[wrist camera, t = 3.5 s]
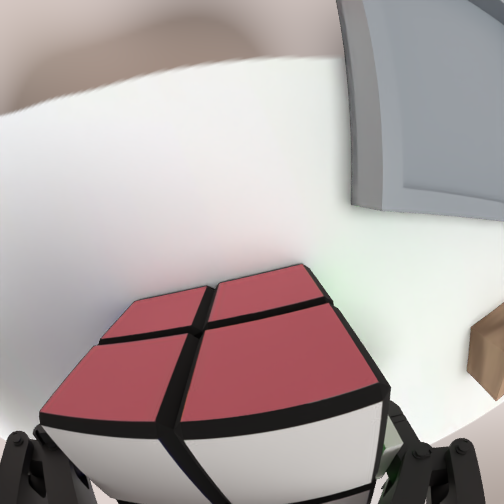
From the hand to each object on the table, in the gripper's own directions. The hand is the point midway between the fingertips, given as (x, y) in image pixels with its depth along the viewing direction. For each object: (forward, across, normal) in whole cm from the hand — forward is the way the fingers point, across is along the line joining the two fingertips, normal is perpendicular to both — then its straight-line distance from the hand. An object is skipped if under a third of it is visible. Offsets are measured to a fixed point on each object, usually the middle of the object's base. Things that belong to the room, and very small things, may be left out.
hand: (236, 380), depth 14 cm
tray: (+2, +16, +19) cm, 25 cm away
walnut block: (+2, +21, -1) cm, 21 cm away
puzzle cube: (+2, 0, 0) cm, 2 cm away
